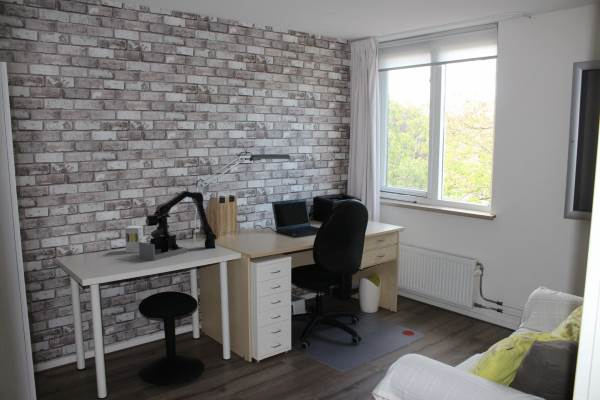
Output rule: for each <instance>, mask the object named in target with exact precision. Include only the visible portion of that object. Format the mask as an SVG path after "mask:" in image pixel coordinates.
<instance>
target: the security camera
mask: <svg viewBox="0 0 600 400" xmlns="http://www.w3.org/2000/svg"><path fill="white" fill-rule="evenodd" d="M164 239H166V238H165V237H163V236H162V237H157V238H153V237H151V238H150V239H149V244H154V245H155V250H157V249H161V251H160V253H164V252H168V249H167V243H166V241H165V240H164ZM178 246H179V244H177V237H176V238H174V239H173V241H172V243H171V245H170V248H169V249H171V248H174V249H173V250H178V249H179V247H180V246H179V247H178Z"/></svg>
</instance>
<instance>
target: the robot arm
mask: <svg viewBox="0 0 600 400" xmlns="http://www.w3.org/2000/svg"><path fill="white" fill-rule="evenodd" d="M186 198H190V199H191V200H192V202H193V203H194V204H195V206H196V210H197V213H198V218H199V222H200V224H201V225H200V227H199V228H198V229H199V231H200V234H201V235H202V237H203V238H204V239H205V240H204V248H205V249H216V239H217V237H218V236H217V235H216V234H215V233H214V231H213V228H212V227H211V225H209V223H208V221H209V220H208V218H207V215H206V212H205V207H204V196H203V193H202V192H198V191H188V190H183V191H181V192H180V193H178V194H177V195H176V196H174V197H173V198H171V199H169V200H168V201H166V202H163V203H161V204H159V205H157V206H156V210H155V211H154V213H153V215H146V218H145V226H147V227H153V226H156V229H154V230H153V231H151V232H150V237H151V238H157V237H162V236H163V237H165V238H166V239H164V240H165V241H166V243H167V249H169V248H170V245H171V243H172V241H173V239H174V238H176V239H177V234H176V233H170V231H169V228H170V225H169V224H168V218H170V217H171V215H169V212H170V211H171V209H172V208H173V207H174V206H176V205H177V204H179V203H181V202H182V201H183V200H185V199H186ZM157 225H158V226H157Z"/></svg>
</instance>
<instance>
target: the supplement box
mask: <svg viewBox="0 0 600 400" xmlns="http://www.w3.org/2000/svg"><path fill="white" fill-rule="evenodd" d="M124 235H125V236H124V239H125V253H126V254H128V253H130V254H131V253H135V254H137V253H139V242H143V243H145V242H144V226H143V225H128V226H126V227H124Z"/></svg>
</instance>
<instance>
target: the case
mask: <svg viewBox="0 0 600 400" xmlns="http://www.w3.org/2000/svg"><path fill="white" fill-rule="evenodd" d="M178 247H179V249H178V250H173V249H174V248H171V249H168V252H164V253H160V251H161V249H157V250H155V245H154V244H150V242H148V243H147V242H144V243H143V242H139V258H140V259H143V260H150V261H153V262H154V261H155V262H156V261H158V260H162V259H167V258H170V257H174V256H178V255H181V254H186V253H188V247H185V246H179V245H178Z"/></svg>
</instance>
